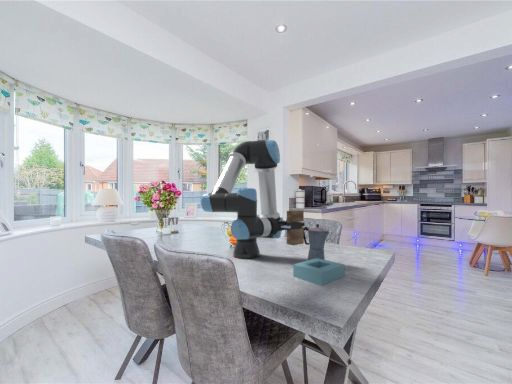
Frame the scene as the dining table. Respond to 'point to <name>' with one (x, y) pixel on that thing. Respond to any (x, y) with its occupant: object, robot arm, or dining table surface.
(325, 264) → the slotted base
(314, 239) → the moka pot
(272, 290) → the dining table surface
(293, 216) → the walnut board
